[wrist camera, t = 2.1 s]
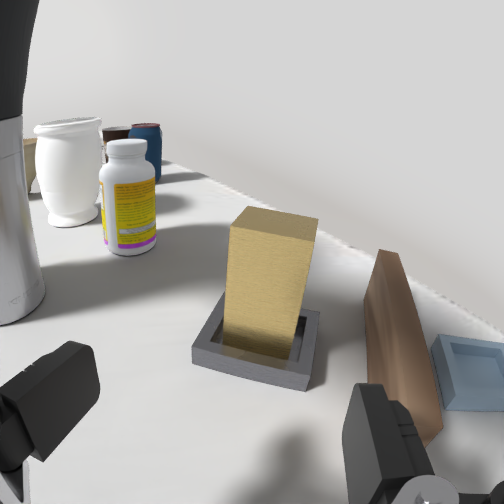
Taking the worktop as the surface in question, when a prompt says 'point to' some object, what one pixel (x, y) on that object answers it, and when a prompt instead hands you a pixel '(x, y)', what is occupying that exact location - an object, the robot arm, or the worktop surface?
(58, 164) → the jar
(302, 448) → the worktop surface
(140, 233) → the supplement bottle
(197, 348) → the grey square flat frame
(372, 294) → the board
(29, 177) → the planter bowl
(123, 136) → the coffee mug
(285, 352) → the block
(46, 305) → the worktop surface
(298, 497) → the worktop surface
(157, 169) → the soda can
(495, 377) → the socket
